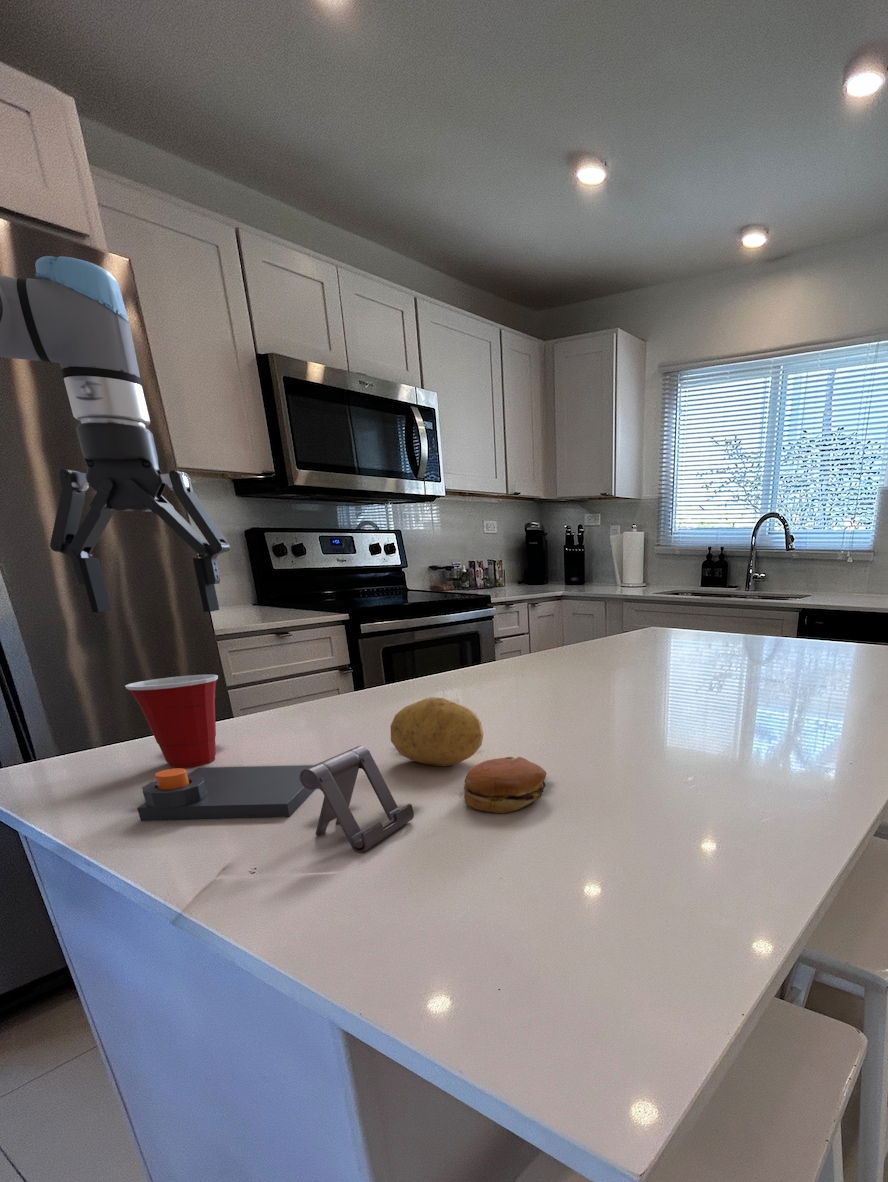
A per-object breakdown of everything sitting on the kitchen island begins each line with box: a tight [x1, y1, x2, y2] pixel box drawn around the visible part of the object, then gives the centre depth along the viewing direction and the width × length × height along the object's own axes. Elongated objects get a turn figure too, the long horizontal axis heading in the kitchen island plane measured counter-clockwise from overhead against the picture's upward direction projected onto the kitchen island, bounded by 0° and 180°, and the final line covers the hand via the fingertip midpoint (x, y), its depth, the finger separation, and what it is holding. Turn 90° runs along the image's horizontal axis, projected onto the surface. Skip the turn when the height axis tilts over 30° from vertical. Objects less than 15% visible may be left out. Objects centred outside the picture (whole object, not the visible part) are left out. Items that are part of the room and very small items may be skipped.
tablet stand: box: [300, 745, 415, 854], centre depth 69 cm, size 9×8×8 cm
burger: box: [463, 756, 548, 814], centre depth 79 cm, size 10×9×5 cm
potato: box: [390, 696, 484, 767], centre depth 91 cm, size 10×13×9 cm
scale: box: [136, 764, 316, 822], centre depth 79 cm, size 16×14×4 cm
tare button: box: [154, 768, 189, 790], centre depth 74 cm, size 3×3×2 cm
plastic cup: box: [124, 674, 219, 769], centre depth 91 cm, size 11×11×12 cm
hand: (157, 611), depth 85 cm, fingers open, 13 cm apart
